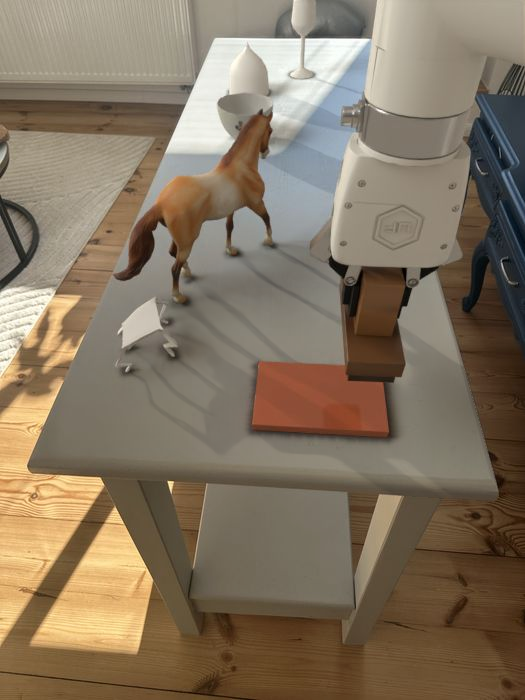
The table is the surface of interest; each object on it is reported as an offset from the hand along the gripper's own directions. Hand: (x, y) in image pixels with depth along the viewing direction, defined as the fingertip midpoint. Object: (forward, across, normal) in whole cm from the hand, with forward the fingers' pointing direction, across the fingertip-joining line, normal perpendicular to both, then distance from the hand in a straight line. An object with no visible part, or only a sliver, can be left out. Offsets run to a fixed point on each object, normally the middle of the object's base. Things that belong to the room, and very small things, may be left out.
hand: (372, 307), depth 49 cm
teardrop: (+16, -21, +103) cm, 107 cm away
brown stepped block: (+5, 0, 0) cm, 5 cm away
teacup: (+16, -20, +76) cm, 80 cm away
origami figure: (+16, -27, +9) cm, 33 cm away
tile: (+16, -4, 0) cm, 16 cm away
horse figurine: (+16, -23, +27) cm, 39 cm away
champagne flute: (+16, -7, +117) cm, 119 cm away
